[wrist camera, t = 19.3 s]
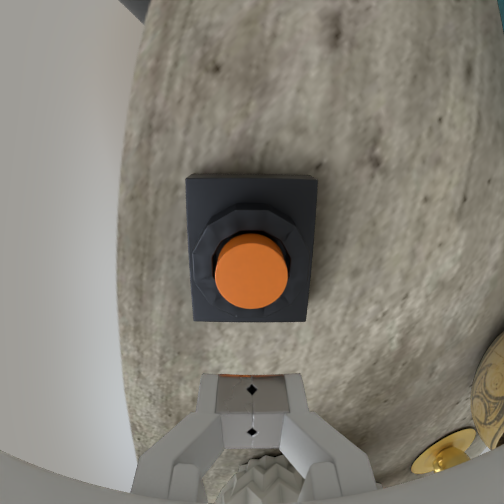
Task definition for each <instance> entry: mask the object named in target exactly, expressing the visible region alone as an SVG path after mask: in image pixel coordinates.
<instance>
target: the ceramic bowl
mask: <svg viewBox="0 0 504 504" xmlns="http://www.w3.org/2000/svg"><path fill="white" fill-rule="evenodd" d="M470 400H471V412H472V417H473V421H474V424H475V426H476V429H477V431H478V434H479V436H480V437H481V439H482V440H483V442H484V443H485V444H486V446H487V447H488V448H489V449H490V450H493V449H495V448H497V447H499V446H501V445H503V444H504V331H503V332H502V333H501V334H500V335H499V336H498V337H497V338H496V339H495V340H494V341H493V343H492V344H491V345H490V347H489V348H488V350H487V351H486V353H485V354H484V356H483V358H482V360H481V362H480V364H479V366H478V368H477V371H476V374H475V377H474V380H473V384H472V390H471V398H470Z"/></svg>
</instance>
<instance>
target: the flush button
mask: <svg viewBox="0 0 504 504" xmlns="http://www.w3.org/2000/svg"><path fill="white" fill-rule="evenodd" d="M287 280H288V271H287V266H286V263H285V260H284V256H283V253H282V251H281V249H280V248H279V246H278V245H277V244H276V243H275V242H274V241H273V240H271V239H270V238H268V237H266V236H263V235H260V234H254V233H248V234H242V235H239V236H237V237H234V238H233V239H231V240H230V241H229V242H227V243H226V244H225V245H224V247H223V248H222V250H221V252H220V254H219V257H218V261H217V266H216V271H215V282H216V285H217V288H218V290H219V292H220V293H221V295H222V296H223V297H224V298H225V299H226V300H227V301H228V302H230V303H231V304H233V305H235V306H238V307H241V308H246V309H257V308H261V307H265V306H267V305H269V304H271V303H273V302H274V301H275V300H277V299H278V298H279V297H280V295H281V294H282V293H283V291H284V290H285V287H286V285H287Z"/></svg>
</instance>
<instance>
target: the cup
mask: <svg viewBox="0 0 504 504" xmlns="http://www.w3.org/2000/svg"><path fill="white" fill-rule="evenodd" d="M475 435H476V431H475V430H474V429H464V430H461V431H458V432H456V433H454V434H451V435H449V436H448V437H446V438H444V439H442V440H441V441H439V442H437V443H436V444H434V445H433V446H431V447H430V448H429V449H427V450H426V451H425V452H424V453H423V454H421V455H420V456H419V457H418V458H417V459H416V461H415V462H414V463H413V465H412V467H411V471H412V472H413V473H416V474H423V473H427V472H431V471H434V473H437V472H440V471H443V470H446V469H448V468H451V467H454V466H456V465H459V464H461V463H464V462H466V461H468V460H471V459H470V458H469V456H468V455H467V454H466V453H465V452H464V451H465V450H466V449H467V448H468V447H469V446H470V444H471V443H472V442H473V440H474V438H475Z"/></svg>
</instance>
